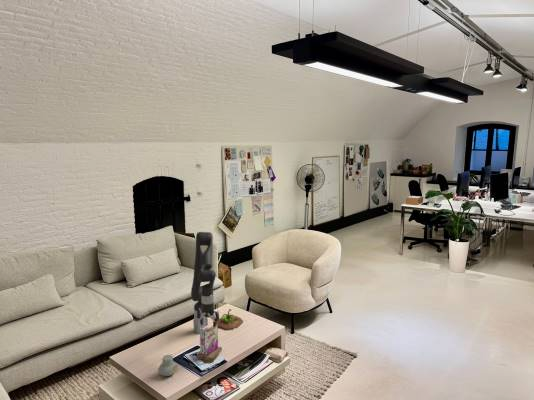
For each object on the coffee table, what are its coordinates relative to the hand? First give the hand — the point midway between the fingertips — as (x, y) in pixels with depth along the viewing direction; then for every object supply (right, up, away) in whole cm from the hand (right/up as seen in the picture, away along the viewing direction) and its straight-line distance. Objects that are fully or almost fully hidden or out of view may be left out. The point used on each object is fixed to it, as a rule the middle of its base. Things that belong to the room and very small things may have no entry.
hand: (208, 325), depth 237 cm
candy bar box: (0, -17, +3) cm, 17 cm away
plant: (+9, -14, +45) cm, 48 cm away
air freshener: (-21, -23, -15) cm, 35 cm away
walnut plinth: (0, -20, +3) cm, 20 cm away
